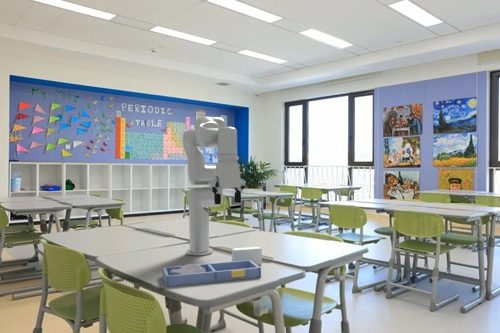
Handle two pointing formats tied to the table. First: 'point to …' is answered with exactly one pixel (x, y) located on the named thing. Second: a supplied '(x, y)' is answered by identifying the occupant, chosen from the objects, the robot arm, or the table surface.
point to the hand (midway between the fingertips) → (227, 203)
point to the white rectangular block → (247, 254)
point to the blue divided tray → (214, 273)
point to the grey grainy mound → (188, 269)
